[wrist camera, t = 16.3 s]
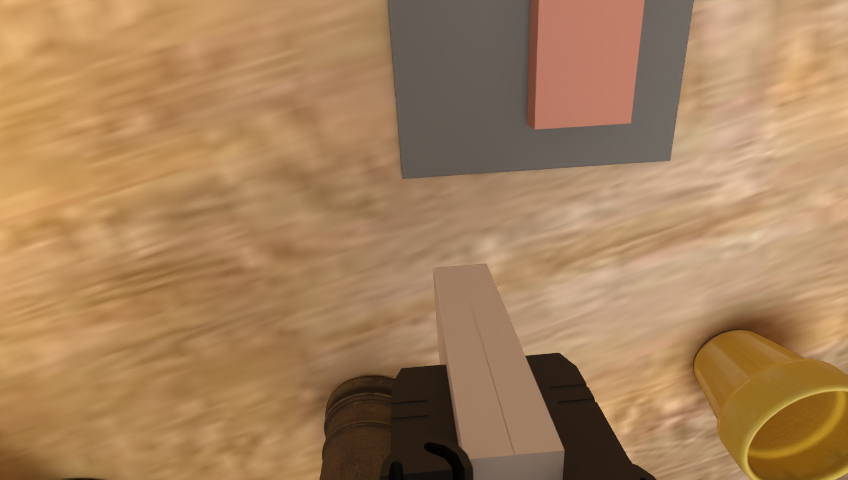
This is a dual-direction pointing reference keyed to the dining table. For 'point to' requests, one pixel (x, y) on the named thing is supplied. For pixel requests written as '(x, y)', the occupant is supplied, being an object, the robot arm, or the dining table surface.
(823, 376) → the plant pot
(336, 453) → the container
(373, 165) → the dining table surface
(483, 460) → the robot arm
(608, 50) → the card box
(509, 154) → the mat
